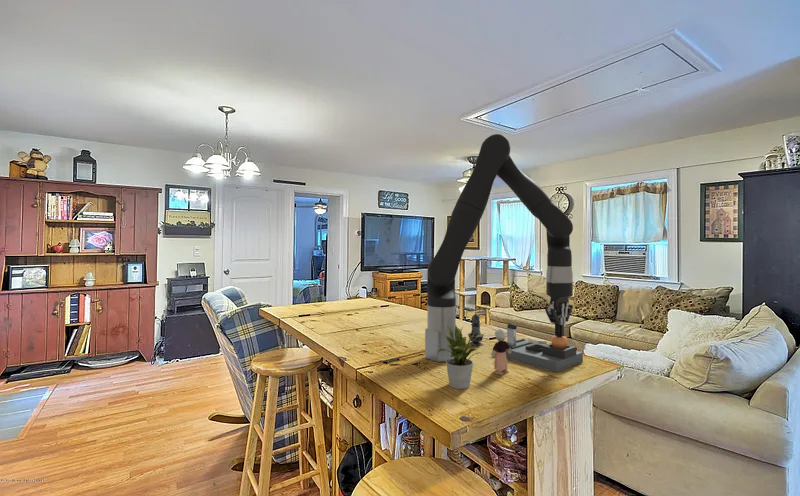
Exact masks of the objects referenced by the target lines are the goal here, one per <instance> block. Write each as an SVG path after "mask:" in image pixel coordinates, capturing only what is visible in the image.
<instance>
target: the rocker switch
mask: <svg viewBox="0 0 800 496" xmlns="http://www.w3.org/2000/svg"><path fill="white" fill-rule="evenodd" d="M527 340H528V342H532V343H537V344H545V345H547V343H548V342H547V341H546V340H541V339H536V338H528V339H527Z"/></svg>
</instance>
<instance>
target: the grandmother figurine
mask: <svg viewBox="0 0 800 496" xmlns="http://www.w3.org/2000/svg"><path fill="white" fill-rule="evenodd" d="M494 335H495V338H496V340H497V341H498V342H495V343H494V345H493V348H492V351H491V354H490V355H491V356H492V357H495V358H494V365H493V366H494V367H493V369H494V371H493V372H494V374H496V375H500V376H502V375H504V374H508V373H509V370H508V369H509V368H508V359H507V357H506V349H507V351H508V353H509V354H511V351H510V347H509V345H508V344H507V340H506V339H507V330H505V329H503V328H497V329H496V330H495V332H494ZM495 353H496V355H495Z"/></svg>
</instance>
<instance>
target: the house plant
mask: <svg viewBox="0 0 800 496" xmlns="http://www.w3.org/2000/svg"><path fill="white" fill-rule="evenodd" d="M464 325H465V324H463V326H462V328H459V327H458V326H457V325H455V339H454V336H453V333H452V330H451V328H450V327H449V326H447V325H446V326H447V328H448V330H449V333H450V336H451V338H452V339H451V338H450V337H447V336H445V337H446V338H447V340H448V341H449V343H450V344H449V343H448V344H447V346H448V347H450V349H451V351H452V353H451V352H450V351H449V352H450V353H451V354H450V355H451V359H448V360H446V361H445V363H446V370H447V375H448V376H447V377H448V383H449V387H451V388H453V389H456V390H457V389H458V390H465V389H469V388H470V385H471V378H472V372H473V367H474V362H473V360H471V358H472V357H474V355H477V354H479V352H476V353H474V354H472V355H470V354H471V353H472V352H475V351H478V349H476V348H470V346H471V345H472V344H469V343H470V342H472V341H471V339H472V337H473V336H474V334H475V333H474V334H473V335H472V337H471V338H470V339H469V340H468V342H467V343H466V341H467V336H463V333H462V331H463V327H464ZM432 330H434V329H432ZM437 331H438V330H437ZM475 332H476V331H475ZM441 333H442V332H441ZM438 334H439V333H438ZM482 334H483V335H485V334H486V333H481V335H482ZM442 336H443V335H442ZM479 336H480V335H479ZM443 337H444V336H443ZM445 337H444V338H445ZM476 338H477V337H476ZM476 338H475V339H476ZM475 339H474V340H475ZM447 340H446V341H447ZM474 340H473V341H474ZM473 344H474V343H473ZM433 346H435V345H433ZM438 347H439V346H438ZM471 347H472V346H471ZM440 348H441V347H440ZM444 350H446V349H442V348H441V349H439V350H438V351H437V353H438V352H440V351H444ZM447 351H448V350H447ZM444 352H445V351H444ZM445 353H446V352H445ZM481 354H482V352H480V355H481ZM469 355H470V356H469ZM482 355H483V354H482ZM468 356H469V358H468ZM452 357H454V358H452Z"/></svg>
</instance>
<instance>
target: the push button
mask: <svg viewBox="0 0 800 496" xmlns="http://www.w3.org/2000/svg"><path fill="white" fill-rule="evenodd" d="M551 343H552V347H554V348H560V349H565V348H567V345H568V337H567V336H565V335H564V336H563V337H557V336H555V334H554V335H552V336H551Z"/></svg>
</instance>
